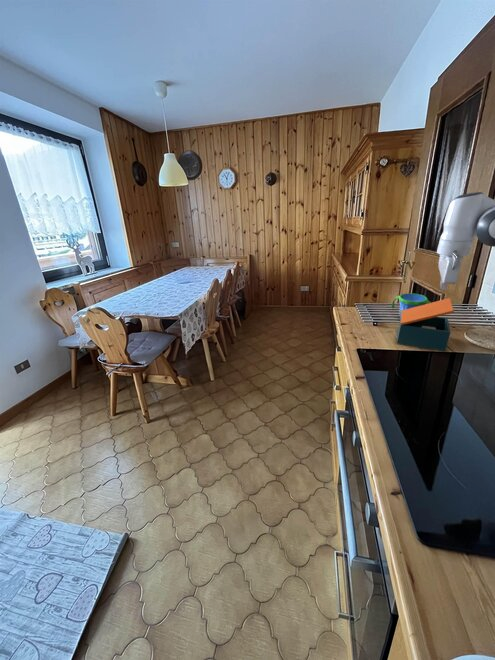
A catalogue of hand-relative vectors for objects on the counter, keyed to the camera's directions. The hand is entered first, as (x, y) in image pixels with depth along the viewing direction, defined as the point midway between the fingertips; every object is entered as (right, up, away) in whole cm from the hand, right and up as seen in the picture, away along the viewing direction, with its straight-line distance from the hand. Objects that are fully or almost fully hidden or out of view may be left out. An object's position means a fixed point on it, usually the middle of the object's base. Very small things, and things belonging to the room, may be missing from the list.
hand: (442, 288), depth 98 cm
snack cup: (+4, -10, +27) cm, 29 cm away
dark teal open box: (-1, -18, +11) cm, 21 cm away
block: (0, -18, +9) cm, 20 cm away
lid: (-2, -8, +6) cm, 10 cm away
